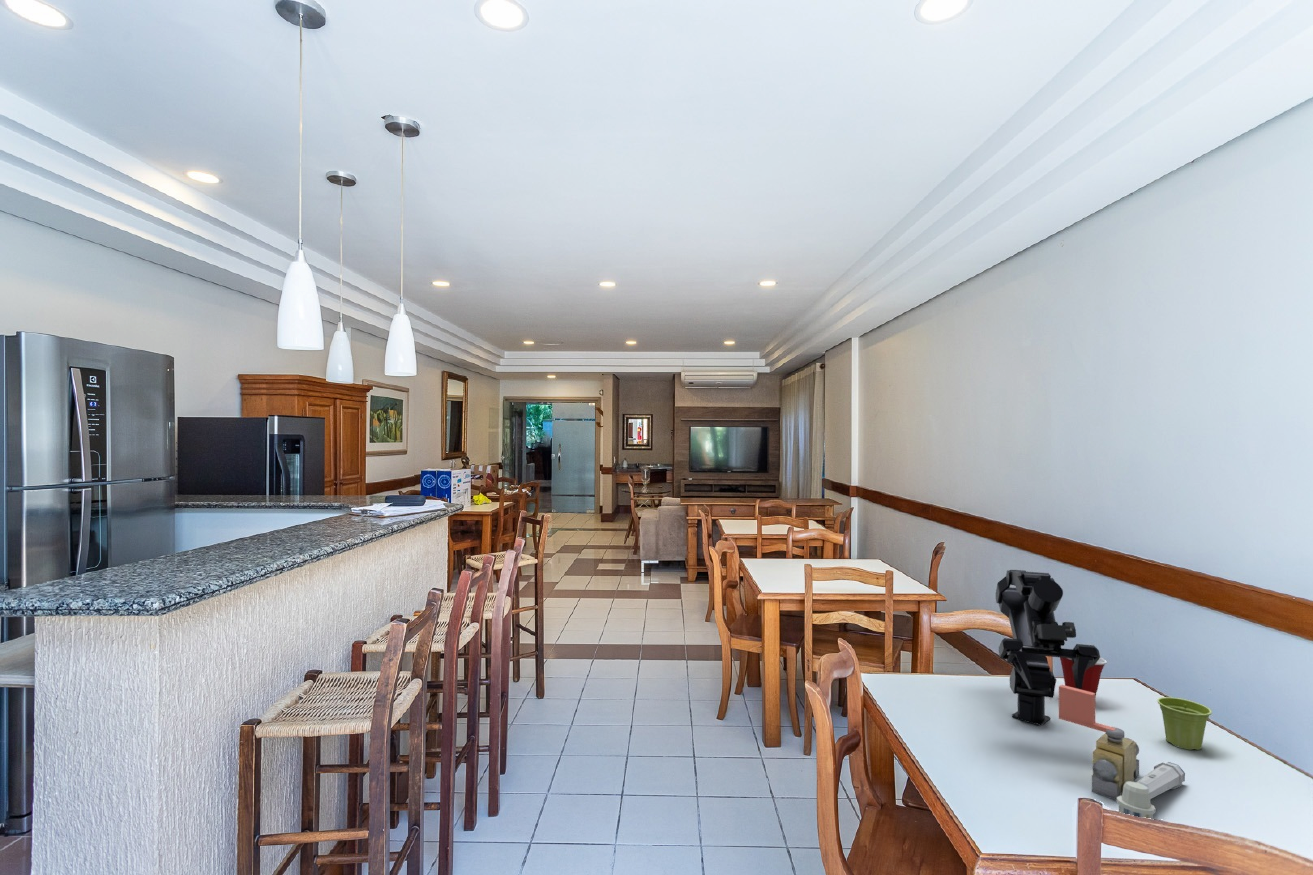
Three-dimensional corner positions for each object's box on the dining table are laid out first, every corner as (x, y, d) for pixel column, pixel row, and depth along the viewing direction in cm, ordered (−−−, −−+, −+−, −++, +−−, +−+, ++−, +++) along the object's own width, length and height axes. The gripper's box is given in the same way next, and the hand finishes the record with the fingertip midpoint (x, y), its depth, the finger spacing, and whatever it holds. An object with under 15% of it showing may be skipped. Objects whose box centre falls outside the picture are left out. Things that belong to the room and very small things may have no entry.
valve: (1114, 765, 133) (1114, 720, 133) (1142, 774, 129) (1142, 728, 129) (1089, 791, 122) (1089, 742, 122) (1118, 801, 119) (1118, 751, 119)
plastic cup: (1117, 709, 162) (1117, 661, 162) (1074, 708, 162) (1074, 660, 162) (1089, 693, 173) (1089, 648, 173) (1048, 692, 173) (1048, 647, 173)
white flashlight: (1190, 766, 125) (1149, 788, 110) (1189, 802, 124) (1147, 829, 109) (1157, 756, 129) (1113, 775, 114) (1155, 790, 128) (1111, 815, 113)
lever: (1126, 735, 125) (1126, 699, 125) (1121, 739, 123) (1121, 703, 123) (1062, 717, 133) (1062, 683, 134) (1057, 720, 132) (1057, 687, 132)
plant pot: (1212, 744, 143) (1212, 705, 143) (1210, 758, 136) (1210, 717, 136) (1159, 731, 149) (1159, 693, 150) (1155, 744, 143) (1155, 705, 143)
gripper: (1002, 603, 144) (1013, 672, 134) (1098, 609, 139) (1117, 682, 129) (994, 624, 152) (1004, 691, 142) (1084, 631, 147) (1101, 700, 137)
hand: (1055, 690), depth 138 cm, fingers open, 9 cm apart
